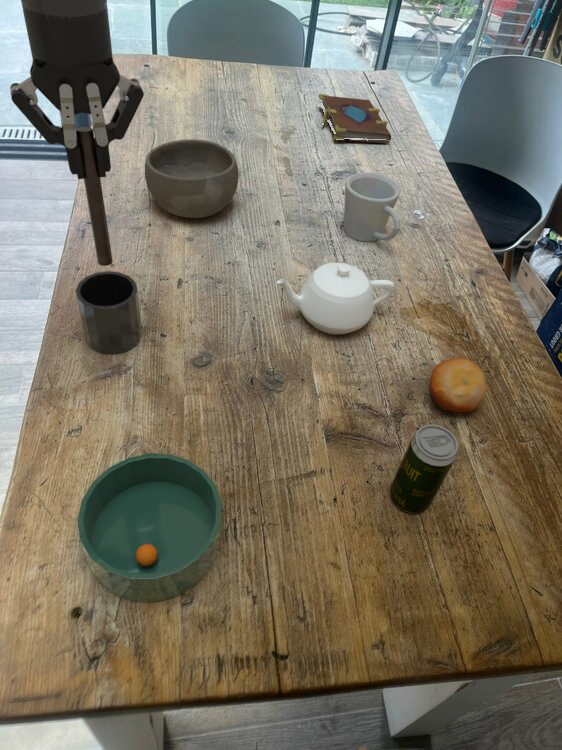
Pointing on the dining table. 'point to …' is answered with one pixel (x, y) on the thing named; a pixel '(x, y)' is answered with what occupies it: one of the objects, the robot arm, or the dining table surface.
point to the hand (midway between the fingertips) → (90, 174)
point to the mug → (370, 206)
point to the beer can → (423, 468)
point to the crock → (109, 312)
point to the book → (354, 119)
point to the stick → (94, 195)
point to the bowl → (191, 177)
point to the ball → (146, 555)
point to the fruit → (457, 385)
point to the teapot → (338, 297)
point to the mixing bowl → (150, 526)
